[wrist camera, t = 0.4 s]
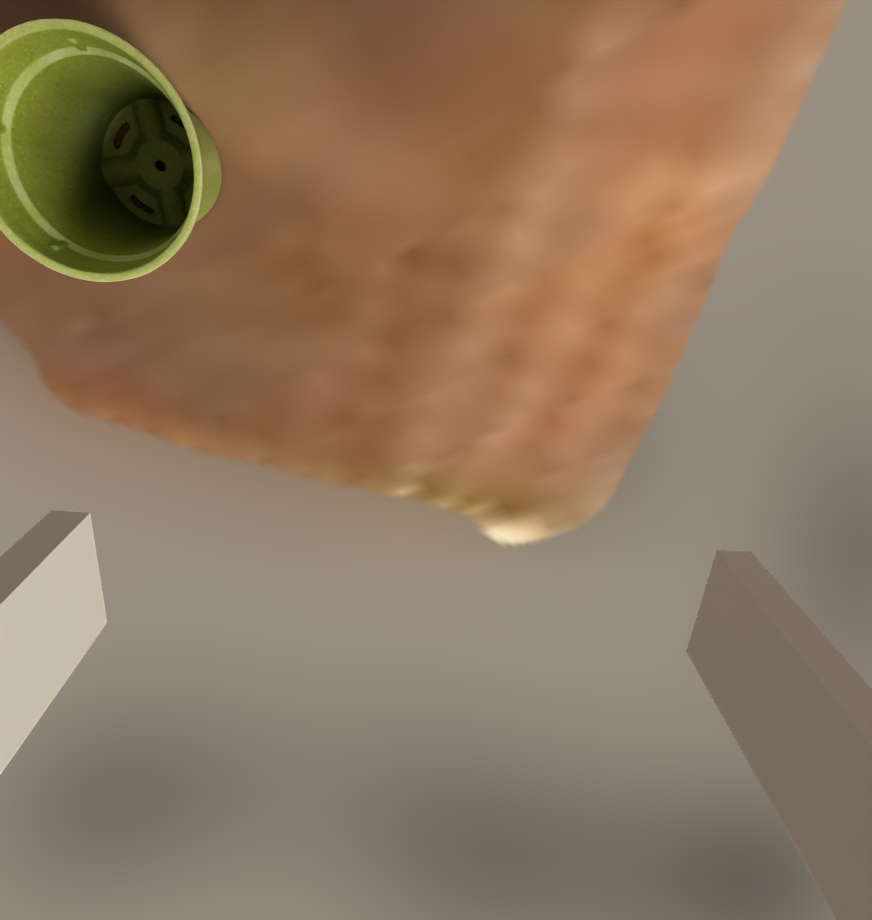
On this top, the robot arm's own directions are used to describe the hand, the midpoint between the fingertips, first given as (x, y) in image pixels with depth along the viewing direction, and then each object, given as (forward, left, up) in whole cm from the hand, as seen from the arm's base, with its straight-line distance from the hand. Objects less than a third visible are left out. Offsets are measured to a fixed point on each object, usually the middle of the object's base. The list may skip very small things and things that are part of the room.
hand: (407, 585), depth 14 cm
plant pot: (-7, -14, -26) cm, 30 cm away
